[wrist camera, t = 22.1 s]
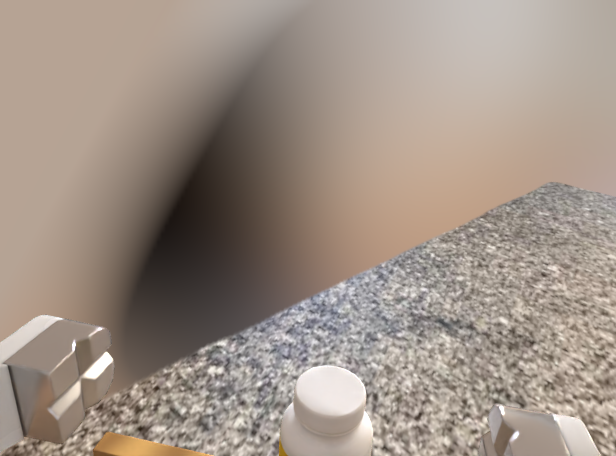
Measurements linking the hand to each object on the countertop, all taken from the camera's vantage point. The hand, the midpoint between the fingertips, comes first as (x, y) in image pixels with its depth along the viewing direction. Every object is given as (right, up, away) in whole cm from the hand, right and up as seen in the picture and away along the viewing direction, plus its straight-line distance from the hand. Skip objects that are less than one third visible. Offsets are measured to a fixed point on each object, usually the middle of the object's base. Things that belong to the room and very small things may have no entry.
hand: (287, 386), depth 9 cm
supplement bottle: (+1, -15, +19) cm, 24 cm away
